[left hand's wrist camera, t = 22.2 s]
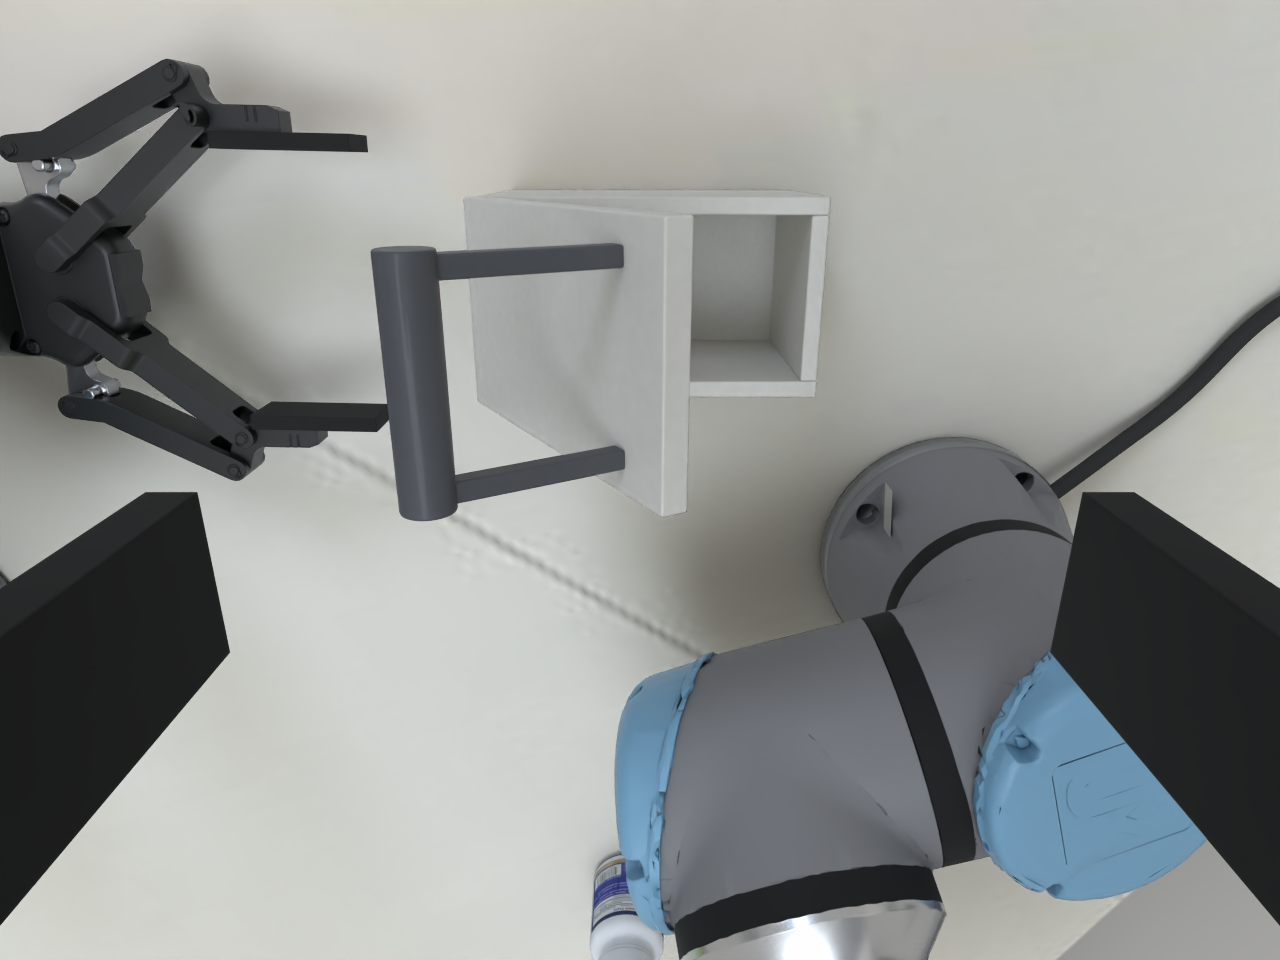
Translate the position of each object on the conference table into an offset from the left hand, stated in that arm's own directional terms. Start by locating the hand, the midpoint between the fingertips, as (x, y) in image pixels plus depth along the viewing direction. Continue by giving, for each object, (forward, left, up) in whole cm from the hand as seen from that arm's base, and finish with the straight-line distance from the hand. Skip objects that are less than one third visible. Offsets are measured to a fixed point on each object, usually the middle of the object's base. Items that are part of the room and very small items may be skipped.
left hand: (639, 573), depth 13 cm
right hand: (+13, -3, -31) cm, 34 cm away
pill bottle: (+11, +44, -38) cm, 59 cm away
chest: (-1, 0, -38) cm, 38 cm away
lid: (+3, -1, -20) cm, 20 cm away
